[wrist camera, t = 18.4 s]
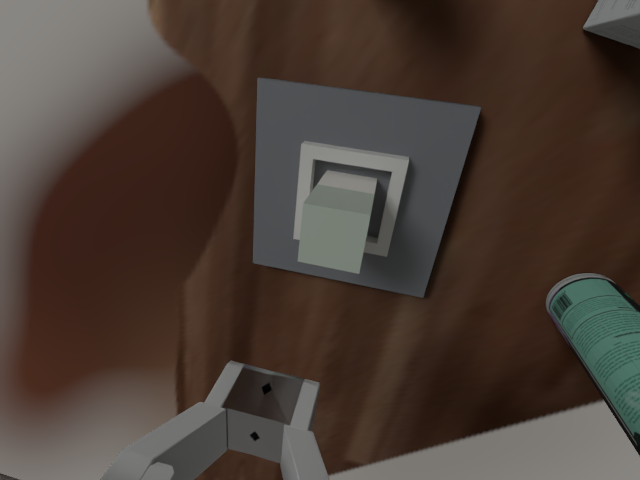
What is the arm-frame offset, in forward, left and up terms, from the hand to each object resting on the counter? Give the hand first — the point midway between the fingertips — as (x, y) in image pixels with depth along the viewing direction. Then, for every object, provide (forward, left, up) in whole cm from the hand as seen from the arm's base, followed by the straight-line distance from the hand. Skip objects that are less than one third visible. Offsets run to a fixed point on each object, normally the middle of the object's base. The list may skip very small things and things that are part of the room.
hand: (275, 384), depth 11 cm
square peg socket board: (0, 0, -21) cm, 21 cm away
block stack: (0, 0, -19) cm, 19 cm away
